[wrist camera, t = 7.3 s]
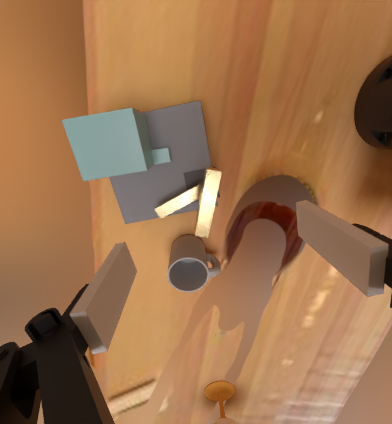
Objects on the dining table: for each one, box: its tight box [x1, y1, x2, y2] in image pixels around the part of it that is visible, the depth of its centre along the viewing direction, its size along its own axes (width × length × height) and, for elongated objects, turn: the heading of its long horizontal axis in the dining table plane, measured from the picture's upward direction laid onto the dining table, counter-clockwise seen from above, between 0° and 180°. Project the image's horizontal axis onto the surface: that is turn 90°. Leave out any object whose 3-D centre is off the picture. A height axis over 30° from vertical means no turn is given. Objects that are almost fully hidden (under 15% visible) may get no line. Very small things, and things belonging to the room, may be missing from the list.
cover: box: [62, 108, 171, 181], centre depth 27 cm, size 10×7×7 cm, turn 99°
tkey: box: [155, 167, 222, 237], centre depth 28 cm, size 10×8×10 cm
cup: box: [167, 235, 221, 292], centre depth 40 cm, size 7×10×9 cm
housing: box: [109, 101, 220, 224], centre depth 35 cm, size 16×16×6 cm
